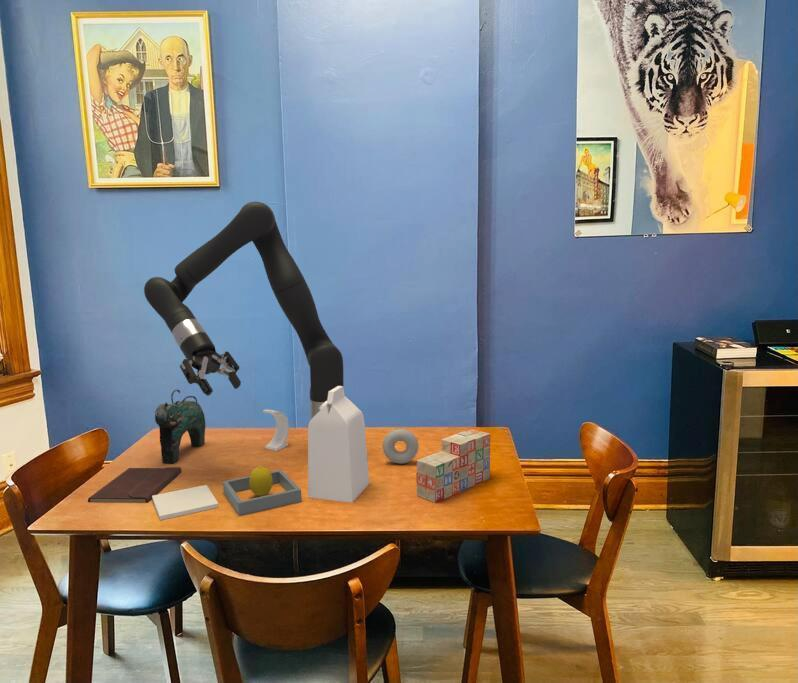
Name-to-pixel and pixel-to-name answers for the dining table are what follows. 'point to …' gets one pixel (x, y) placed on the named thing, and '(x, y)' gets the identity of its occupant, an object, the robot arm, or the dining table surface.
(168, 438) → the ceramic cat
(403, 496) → the dining table surface
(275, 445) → the headphone stand
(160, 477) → the notebook
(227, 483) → the grey square frame
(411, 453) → the donut
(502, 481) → the dining table surface
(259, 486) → the lemon
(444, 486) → the stack of blocks
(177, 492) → the board
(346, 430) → the milk
